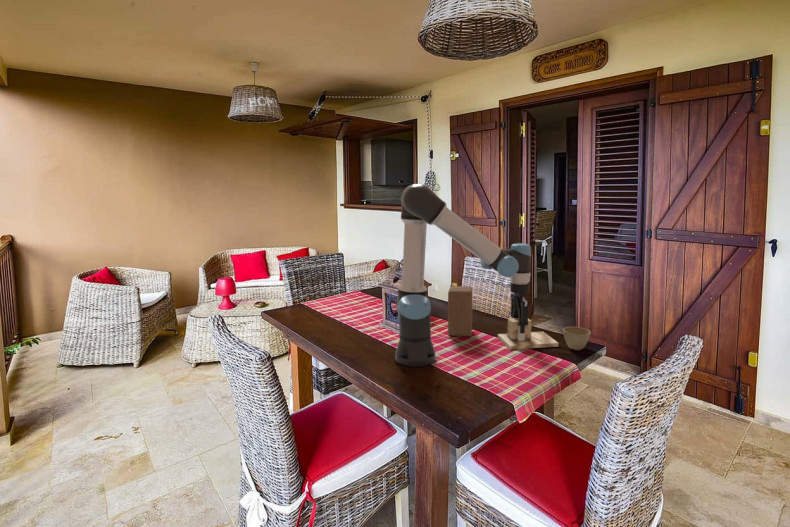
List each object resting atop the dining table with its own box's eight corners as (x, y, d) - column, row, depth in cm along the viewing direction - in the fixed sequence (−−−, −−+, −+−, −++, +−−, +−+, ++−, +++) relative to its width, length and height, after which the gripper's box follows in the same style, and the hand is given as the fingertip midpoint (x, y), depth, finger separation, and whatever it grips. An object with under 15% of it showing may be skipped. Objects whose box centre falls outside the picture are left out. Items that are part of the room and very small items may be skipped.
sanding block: (511, 341, 179) (512, 322, 177) (507, 336, 183) (507, 318, 182) (530, 339, 179) (531, 320, 178) (526, 335, 184) (526, 317, 183)
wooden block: (471, 337, 189) (471, 291, 185) (447, 336, 191) (447, 290, 187) (472, 329, 199) (472, 286, 195) (449, 328, 201) (449, 285, 197)
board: (509, 349, 174) (509, 345, 174) (497, 337, 188) (497, 334, 188) (558, 346, 176) (558, 342, 176) (542, 334, 190) (543, 331, 190)
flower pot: (577, 354, 168) (578, 336, 167) (556, 346, 177) (557, 329, 175) (595, 349, 172) (596, 332, 171) (574, 341, 181) (575, 325, 180)
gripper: (538, 287, 169) (536, 345, 173) (520, 277, 186) (518, 330, 191) (519, 287, 168) (517, 346, 172) (503, 278, 186) (501, 331, 190)
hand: (518, 337), depth 181 cm, fingers closed on sanding block, 5 cm apart
